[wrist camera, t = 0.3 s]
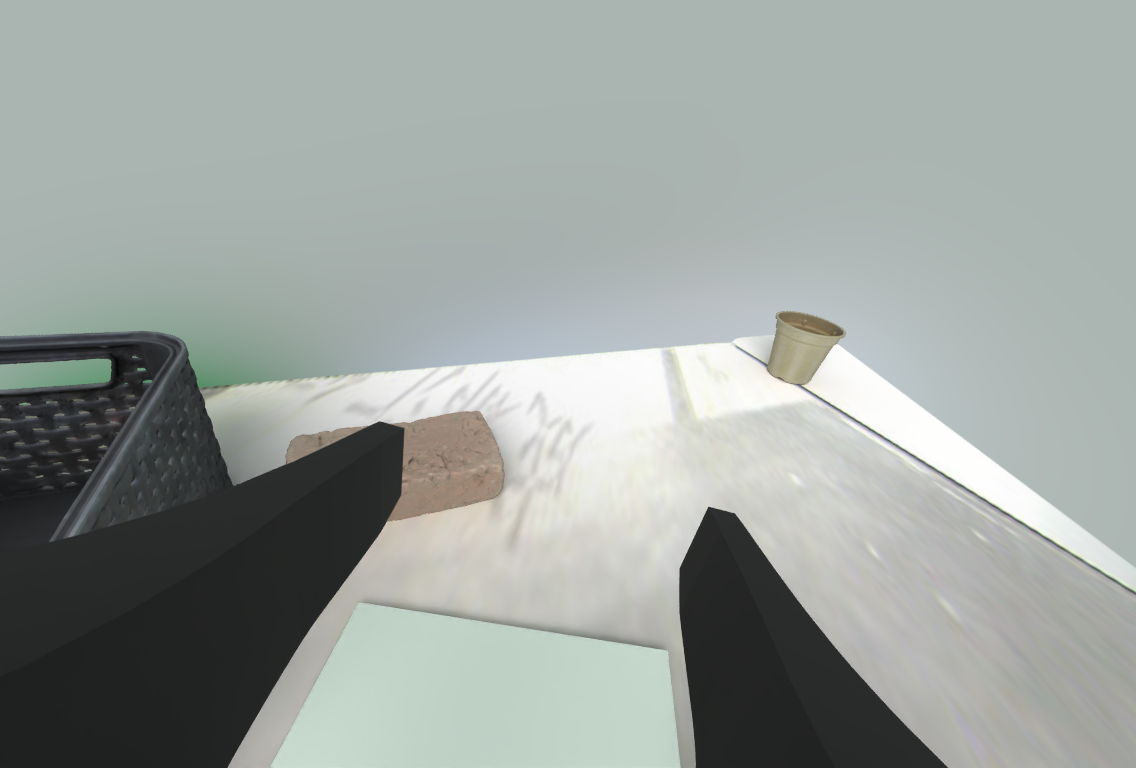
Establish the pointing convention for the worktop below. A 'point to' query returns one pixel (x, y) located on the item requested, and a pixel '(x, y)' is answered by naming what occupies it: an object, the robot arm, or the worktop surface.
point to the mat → (481, 699)
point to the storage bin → (103, 438)
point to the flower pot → (801, 345)
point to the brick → (433, 462)
